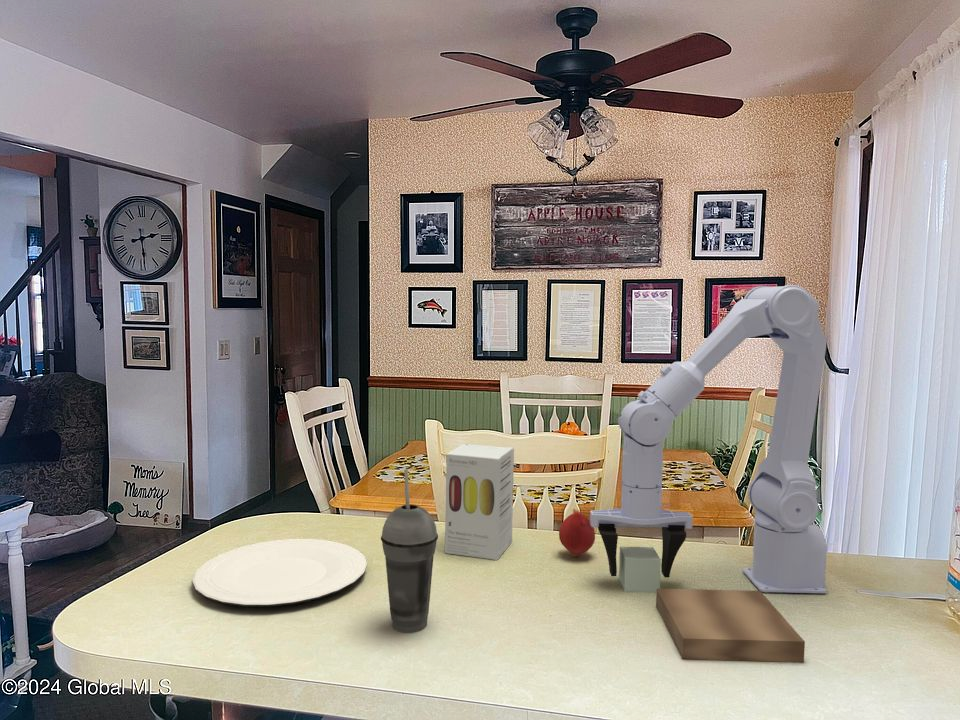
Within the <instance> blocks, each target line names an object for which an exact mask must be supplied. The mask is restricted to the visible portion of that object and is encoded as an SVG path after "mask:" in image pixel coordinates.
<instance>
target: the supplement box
mask: <svg viewBox="0 0 960 720" xmlns="http://www.w3.org/2000/svg"><path fill="white" fill-rule="evenodd" d="M514 460H515V448H514V447H512V446H508V447H507V446H495V445H487V444H486V445H485V444H473V443H466V442H465V443H463V444H461V445H459V446H457V447H456V448H454V449H452V450H451V451H449V452H447V453H446V465H445V467H446V469H445V470H446V471H445V473H446V474H445V517H444V518H445V519H444V520H445V531H444V533H445V535H444V554H449V555H458V556H466V557H472V558H478V559H479V558H480V559H487V560H493V561H498V560H499V559H500V558H501V557H502V555H503V554H504V553H505V552H506V550H507V549H508V547H510V545H511V544H512V542H513V518H514V517H513V516H514V515H513V514H514V513H513V511H514V507H513V506H514V500H513V499H514V471H515V470H514V469H515V467H514V463H515V461H514Z"/></svg>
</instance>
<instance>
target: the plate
mask: <svg viewBox="0 0 960 720" xmlns="http://www.w3.org/2000/svg"><path fill="white" fill-rule="evenodd" d="M367 567H368V562H367V559H366V556H365V555H364V554H363V553H361V552H360V551H359V550H358V549H357V548H354V547H351V546H350V545H348V544H345V543H341V542H336V541H332V540H325V539H315V538H288V539H277V540H276V539H275V540H269V541H262V542H256V543H252V544H247V545H244V546H241V547H240V546H239V547H237V548H234V549H230V550H228V551H226V552H222V553H221V554H218V555H216V556H215V557H212V558H211V559H209V560H207V561H206V562H204V563H203V564H202V565H200V567H198V569H197V570H196V571H194V575H193V577H192V581H191V582H192V585H193V586H194V589H195V591H196V592H197V593H199V594H201V595H202V596H203V597H204V598H206V599H209V600H212V601H215V602H218V603H220V604H225V605H233V606H239V607H240V606H241V607H276V606H277V607H278V606H284V605H295V604H299V603H304V602H308V601H313V600H318V599H321V598H324V597H327V596H330V595H333V594H336V593H339V592H341V591H342V590H344V589H346V588H348V587H349V586H352V585H353V584H355V583H356V582H357V581H358V580H359V579H360V578H362V576H363V575H364V574H365V571H366V569H367Z"/></svg>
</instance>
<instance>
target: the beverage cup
mask: <svg viewBox="0 0 960 720" xmlns="http://www.w3.org/2000/svg"><path fill="white" fill-rule="evenodd" d="M403 470H404V471H403V472H404V473H403V474H404V492H405V493H404V498H405V499H404V500H405V504H403V505H401V506H398V507H397V508H395V509H393V510H392V511H391V512H390V513H389V514H388V516H387V517H386V519H385V521H384V524H383V527H382V531H381V536H380V540H381V543H382V544H381V545H382V551H383V554H384V557H385V558H384V559H385V569H386V571H385V572H386V580H387V582H386V583H387V591H388V601H389V602H388V603H389V614H390V618H391V626H392V629H394V630H395V631H398V632H401V633H409V634H411V633H416V632H417V633H418V632H419V631H422V630H424V629H425V628H426V627H428V618H429V617H428V615H429V611H430V601H431V600H430V599H431V589H432V578H433V567H434V565H433V564H434V555H435V553H436V548H437V543H438V541H437V540H439V539H438V538H439V534H438V532H437V531H438V530H437V525H436V522H435V520H434V518H433V516H432V515H431V514H430V513H429V512H428V511H427V510H426V508H424V507H421V506H420V505H417V504H411V503H410V487H409V469H403Z"/></svg>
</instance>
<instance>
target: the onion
mask: <svg viewBox="0 0 960 720" xmlns="http://www.w3.org/2000/svg"><path fill="white" fill-rule="evenodd" d="M558 535H559V537H558V538H559V542H560V543H561V545H562V547H564V548H565V549H566V550H567V551H568V552H569V554H570V555H572V556H573V557H575V558H579V557H580V556H581V555H583V554H585V553H586V552H588V551H589V550H590V549H591V548H592V547H593V545H594V544H595V540H596V533H595V527H591V524H590V518H588V517H587V516H585V514H583V513H582V512H581V511H580V509H578V508H576V507H575V508H573V509H572V513H571V514H569V515H568V516H567V517H566V518H564V520H563V521H562V523H561V524H560V527H559V530H558Z"/></svg>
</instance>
